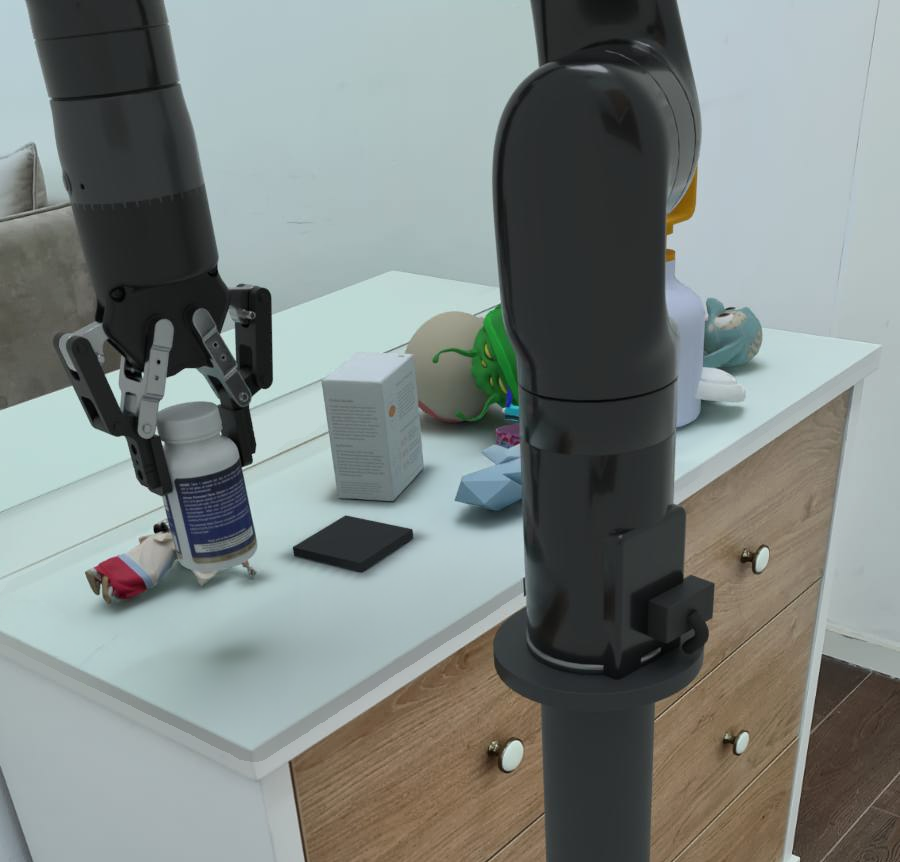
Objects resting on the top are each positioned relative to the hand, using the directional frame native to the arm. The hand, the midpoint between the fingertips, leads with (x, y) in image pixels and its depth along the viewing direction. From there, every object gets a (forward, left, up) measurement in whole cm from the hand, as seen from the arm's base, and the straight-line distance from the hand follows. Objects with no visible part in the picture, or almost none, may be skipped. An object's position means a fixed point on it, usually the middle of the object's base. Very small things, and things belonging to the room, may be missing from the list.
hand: (201, 476), depth 75 cm
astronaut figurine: (+13, -60, -12) cm, 63 cm away
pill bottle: (0, 0, -6) cm, 6 cm away
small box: (+16, -26, -13) cm, 33 cm away
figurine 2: (+18, -42, -8) cm, 47 cm away
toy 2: (+20, -42, -4) cm, 47 cm away
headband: (+11, -42, -14) cm, 45 cm away
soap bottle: (+8, -54, -13) cm, 56 cm away
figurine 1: (+12, -4, -13) cm, 18 cm away
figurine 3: (+10, -35, -8) cm, 38 cm away
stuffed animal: (+15, -70, -13) cm, 72 cm away
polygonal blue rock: (+4, -31, -13) cm, 34 cm away
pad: (+7, -16, -13) cm, 22 cm away
